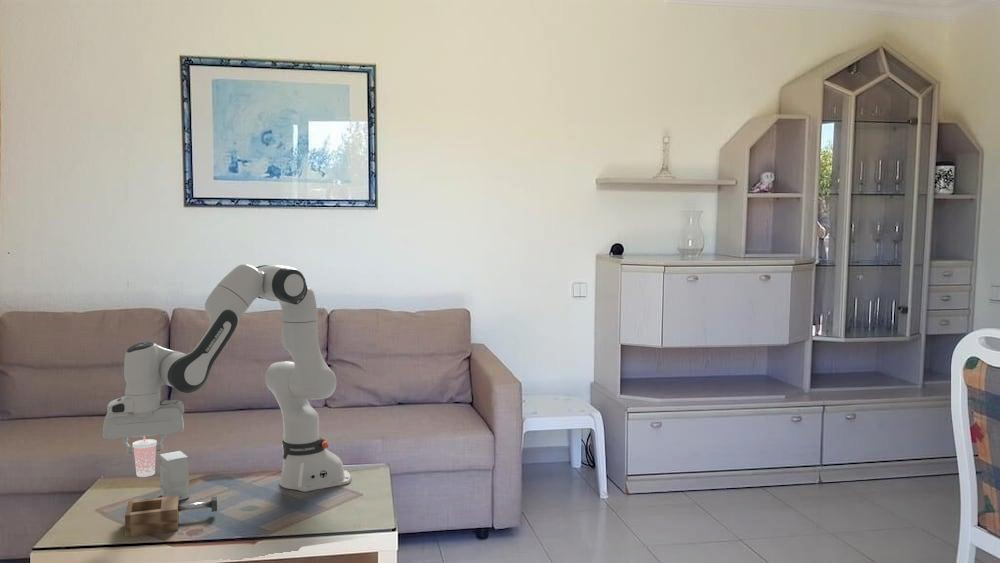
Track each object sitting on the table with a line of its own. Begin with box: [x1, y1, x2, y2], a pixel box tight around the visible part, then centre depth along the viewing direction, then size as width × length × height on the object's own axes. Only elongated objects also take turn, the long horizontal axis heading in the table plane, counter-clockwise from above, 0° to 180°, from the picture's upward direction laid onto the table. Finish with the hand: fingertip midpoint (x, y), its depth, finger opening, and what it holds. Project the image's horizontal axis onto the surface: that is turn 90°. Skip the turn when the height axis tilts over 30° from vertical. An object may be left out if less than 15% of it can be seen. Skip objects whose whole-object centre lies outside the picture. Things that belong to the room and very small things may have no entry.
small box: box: [159, 450, 190, 501], centre depth 240 cm, size 8×6×13 cm
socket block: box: [124, 496, 180, 538], centre depth 218 cm, size 13×11×6 cm
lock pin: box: [178, 496, 218, 513], centre depth 223 cm, size 13×3×3 cm, turn 111°
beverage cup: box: [131, 436, 158, 478], centre depth 215 cm, size 6×6×14 cm
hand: (144, 451), depth 216 cm, fingers closed on beverage cup, 6 cm apart
